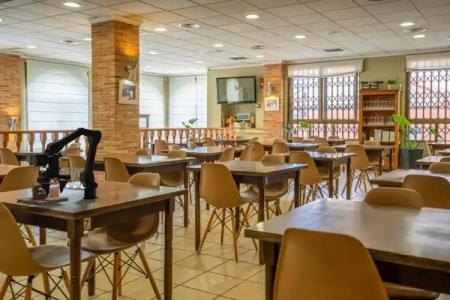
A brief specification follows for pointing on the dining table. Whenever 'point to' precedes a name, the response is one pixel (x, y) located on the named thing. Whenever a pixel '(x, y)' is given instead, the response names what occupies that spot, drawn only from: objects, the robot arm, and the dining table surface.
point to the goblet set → (72, 173)
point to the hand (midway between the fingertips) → (54, 194)
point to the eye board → (42, 200)
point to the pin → (51, 192)
